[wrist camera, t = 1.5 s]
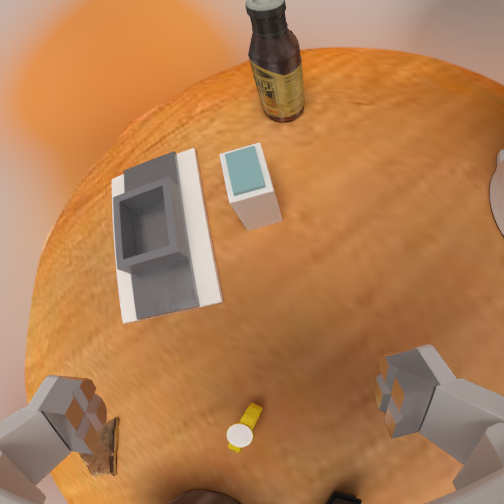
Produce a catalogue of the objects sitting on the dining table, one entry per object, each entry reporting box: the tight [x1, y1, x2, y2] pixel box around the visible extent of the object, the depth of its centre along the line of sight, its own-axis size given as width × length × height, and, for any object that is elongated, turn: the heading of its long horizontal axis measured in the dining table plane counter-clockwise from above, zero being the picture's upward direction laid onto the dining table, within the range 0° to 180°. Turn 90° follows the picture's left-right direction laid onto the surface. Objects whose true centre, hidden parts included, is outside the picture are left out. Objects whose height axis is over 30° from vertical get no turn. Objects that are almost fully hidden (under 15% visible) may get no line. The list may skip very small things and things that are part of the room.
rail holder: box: [112, 148, 224, 324], centre depth 40 cm, size 14×22×5 cm, turn 12°
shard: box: [79, 418, 119, 477], centre depth 36 cm, size 11×8×2 cm
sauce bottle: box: [246, 0, 304, 122], centre depth 34 cm, size 7×6×20 cm
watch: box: [226, 403, 262, 453], centre depth 32 cm, size 6×3×6 cm, turn 156°
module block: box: [219, 143, 283, 231], centre depth 36 cm, size 4×6×10 cm
